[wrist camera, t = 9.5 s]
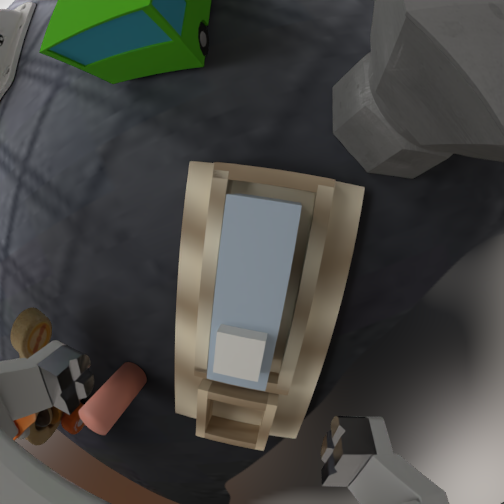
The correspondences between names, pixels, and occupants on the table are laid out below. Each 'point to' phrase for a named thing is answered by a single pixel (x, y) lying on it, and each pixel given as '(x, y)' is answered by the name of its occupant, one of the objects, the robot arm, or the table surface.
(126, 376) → the tail peg
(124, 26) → the toy car
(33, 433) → the toy helicopter
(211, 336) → the blue slab with cube
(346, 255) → the jig
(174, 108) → the table surface
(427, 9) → the coffeepot
